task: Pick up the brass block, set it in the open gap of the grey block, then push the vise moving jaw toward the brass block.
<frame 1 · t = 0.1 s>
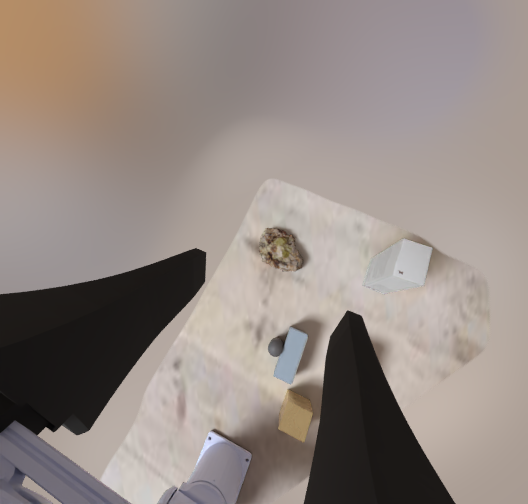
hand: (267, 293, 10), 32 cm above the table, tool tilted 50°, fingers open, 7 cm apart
skincare box: (377, 275, 41), on the table
brass block: (294, 406, 36), on the table
vise moving jaw: (284, 350, 37), point 2 cm above the table, slide at 3.0 cm
mineral rock: (280, 252, 44), on the table
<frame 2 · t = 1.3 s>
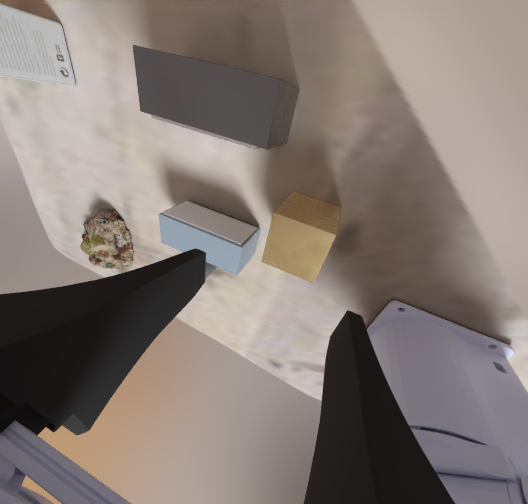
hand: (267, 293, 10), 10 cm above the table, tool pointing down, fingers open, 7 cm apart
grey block: (229, 157, 18), on the table
skincare box: (48, 50, 19), on the table
brass block: (309, 221, 18), on the table
vise moving jaw: (208, 246, 20), point 2 cm above the table, slide at 3.0 cm
mineral rock: (116, 236, 30), on the table
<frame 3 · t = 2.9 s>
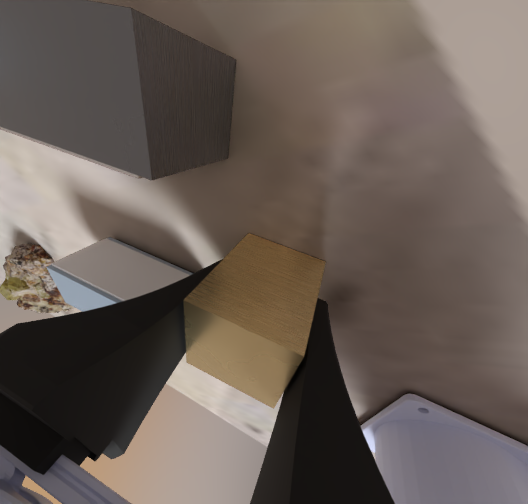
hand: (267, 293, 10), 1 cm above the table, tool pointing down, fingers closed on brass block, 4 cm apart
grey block: (148, 178, 11), on the table
brass block: (276, 276, 11), on the table, touching gripper
vise moving jaw: (136, 304, 14), point 2 cm above the table, slide at 3.0 cm
mineral rock: (52, 273, 24), on the table
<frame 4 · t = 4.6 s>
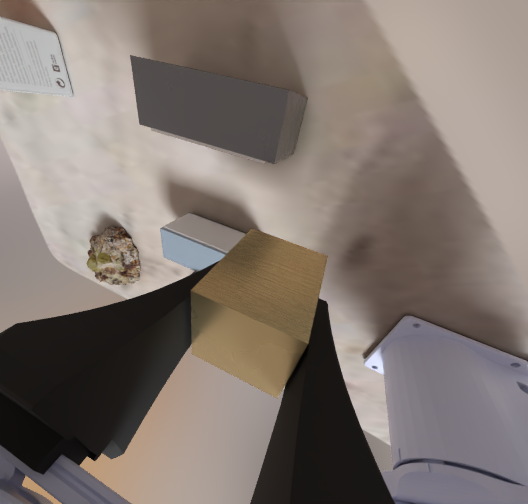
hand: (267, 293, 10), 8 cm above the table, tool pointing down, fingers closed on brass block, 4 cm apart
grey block: (232, 168, 17), on the table
skincare box: (44, 60, 18), on the table
brass block: (279, 271, 12), point 7 cm above the table, touching gripper
vise moving jaw: (212, 259, 19), point 2 cm above the table, slide at 3.0 cm
mineral rock: (123, 252, 29), on the table
when the fingers open (3 cm above the table, at t = 6.5 s): brass block stays where it is, on the table.
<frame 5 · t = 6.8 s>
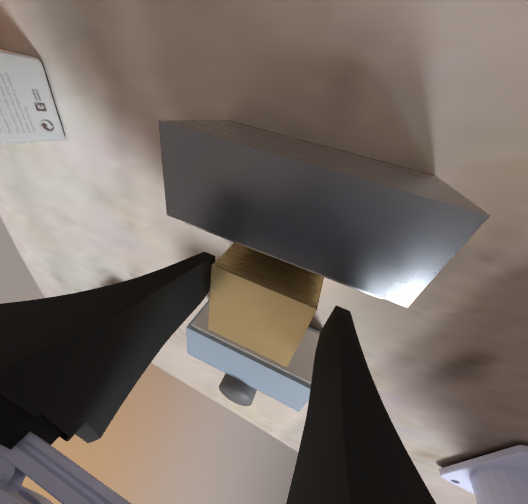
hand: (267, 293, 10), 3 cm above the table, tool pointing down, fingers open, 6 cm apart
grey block: (288, 248, 12), on the table
skincare box: (25, 92, 13), on the table
brass block: (286, 257, 12), on the table
vise moving jaw: (251, 354, 15), point 2 cm above the table, slide at 3.0 cm
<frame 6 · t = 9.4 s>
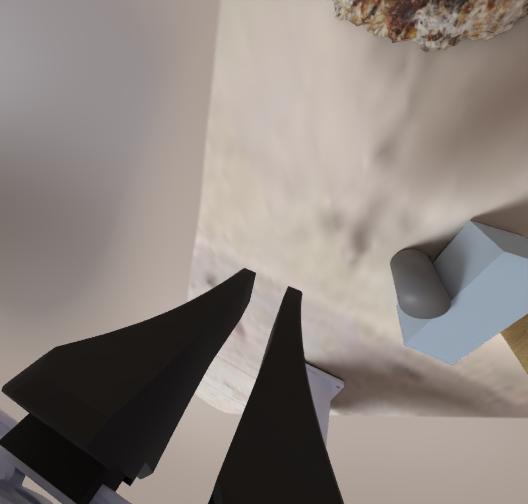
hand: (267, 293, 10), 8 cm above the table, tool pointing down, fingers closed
vise moving jaw: (442, 290, 13), point 2 cm above the table, slide at 3.0 cm
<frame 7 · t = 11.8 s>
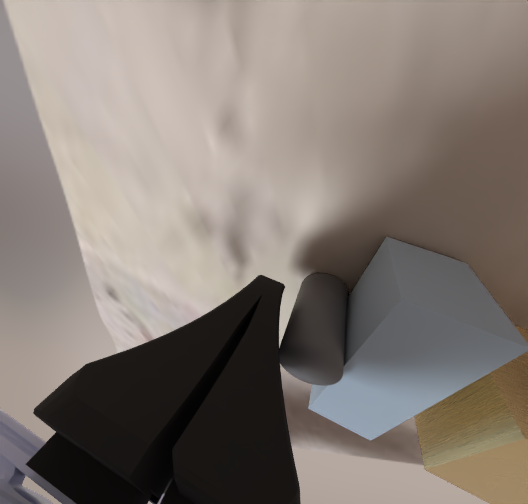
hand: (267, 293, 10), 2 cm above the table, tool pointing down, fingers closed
brass block: (469, 346, 10), on the table
vise moving jaw: (352, 337, 9), point 2 cm above the table, slide at 1.4 cm, touching gripper
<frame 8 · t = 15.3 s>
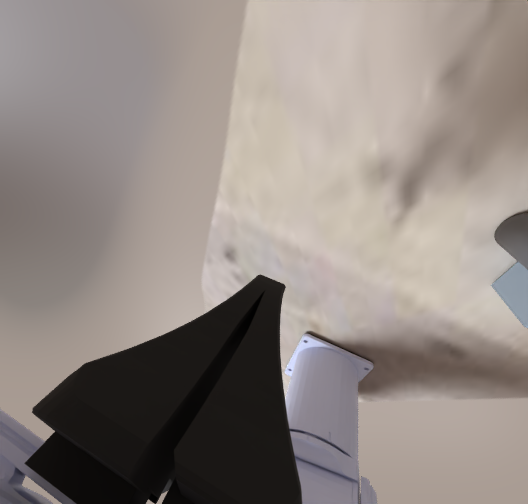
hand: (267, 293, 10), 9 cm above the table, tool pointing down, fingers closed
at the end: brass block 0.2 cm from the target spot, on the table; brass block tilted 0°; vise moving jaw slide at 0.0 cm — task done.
